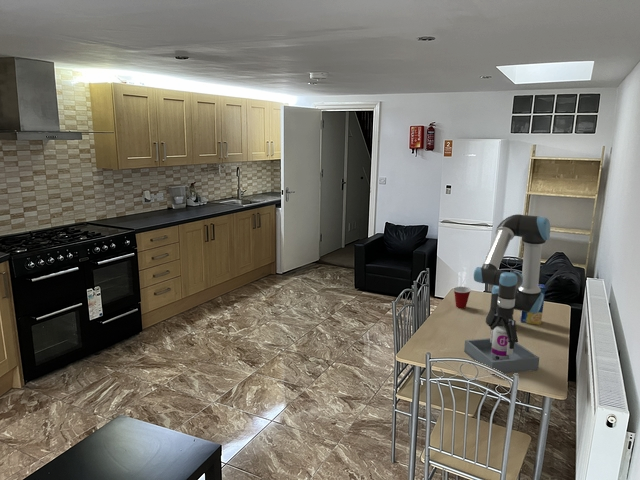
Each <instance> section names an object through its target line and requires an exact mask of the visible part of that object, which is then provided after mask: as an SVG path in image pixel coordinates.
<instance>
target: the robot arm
mask: <svg viewBox="0 0 640 480" xmlns="http://www.w3.org/2000/svg"><path fill="white" fill-rule="evenodd" d="M494 233H495V236H494V237H493V238H494V239H493V241H492V243H491V245H490V247H489V249H488V251H487V255H486V257H485V259H484V261H483V264H482V266H477V267H475V269H474V271H473V281H475V282H476V283H479V284H485V285H492V289H491V295H490V297H491V298H490V306H489V311H488V312H487V316H486V317H485V323H486V324H487V325H488V327H490V328H489V329H490V343H492V339H493V330H494V328H495V327H496V326H504V328H505V329H506V332H507V335H508V339H509V341H508V345H507V355H513V349H514V343H515V342H517V343H519V338H518V334H517V328H516V320H514V316H513V315H514V314H515V313H514V311H515V310H516V311H524V312H528V313H538V312H539V310H540V307H541V305H542V302H543V298H544V299H545V296H544V294H543V293H541V289H540V288H539V287H538V284H540V282H539V281H540V271H541V262H542V251H543V249H542V248H543V246H544V245H545V244H546V242H547V241H549V240H550V237H551V236H550V235H551V223H550V220H549V219H548V217H545V216H544V217H543V216H540V215H527V214H519V213H518V214H513V215H510V216H508V217H506V218H504V219H503V220H502V221H501V222H500V223H499V224H498V225H497V226H496V229H495V232H494ZM515 237H518V238H519V237H520V238H521V242H522V243H523V244H524V247H523V256H522V257H523V259H522V271H521V272H519V271H511V272H509V271H503V270H499V268H500V265H501V263H502V260H503V259H504V256H505V254H506V251H507V249H508V247H509V244H510V243H511V241H512V240H513V239H514V238H515Z"/></svg>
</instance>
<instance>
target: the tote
mask: <svg viewBox="0 0 640 480" xmlns="http://www.w3.org/2000/svg"><path fill="white" fill-rule="evenodd" d="M463 350H464V351H463V352H464V353H465V354H467V356H469V357H470V358H471V359H472V360H474V361H475V360H476V361H478V362H480V363H483V364H486V365H488V366H490V367H492V368H495V369H497V370H499V371H501V372H503V373H502V374H510V373H512V374H513V373H520V372H530V371H529V370H532V371H538V370H539V366H540V365H539V364H540V357H539V356H537V355H536V354H535V353H534V352H532V351H530V350H528V349H527V348H526V347H524V346H523V345H522V344H520V343H519V342H515V343H514V349H513V355H509V359H508V360H497V361H496V360H494V359H493V358H492V357H491V350H492V343H490V338H476V339H465V340H464V348H463ZM476 361H475V362H476ZM537 369H538V370H537Z"/></svg>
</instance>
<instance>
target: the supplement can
mask: <svg viewBox="0 0 640 480" xmlns="http://www.w3.org/2000/svg"><path fill="white" fill-rule="evenodd" d="M508 341H509V339H508V335H507V332H506V329H505V328H504V326H496V327H495V328H494V330H493V339H492V350H491V357H492V358H493V359H494V360H496V361H497V360H508V359H509V355H507V345H508Z"/></svg>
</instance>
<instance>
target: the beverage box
mask: <svg viewBox="0 0 640 480" xmlns="http://www.w3.org/2000/svg"><path fill="white" fill-rule="evenodd" d="M538 287H539V288H540V289H541V293H543V294H544V298H543V302H542V305H541V307H540V310H539V312H538V313H528V312H524V311H520V310H519V311H520V312H519V321H520V323H526V324H532V325H533V324H534V325H542V319H543V310H544V301H545V294H546V289H547V287H546V286H545V284H543V283H542V284H541V283H538Z"/></svg>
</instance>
